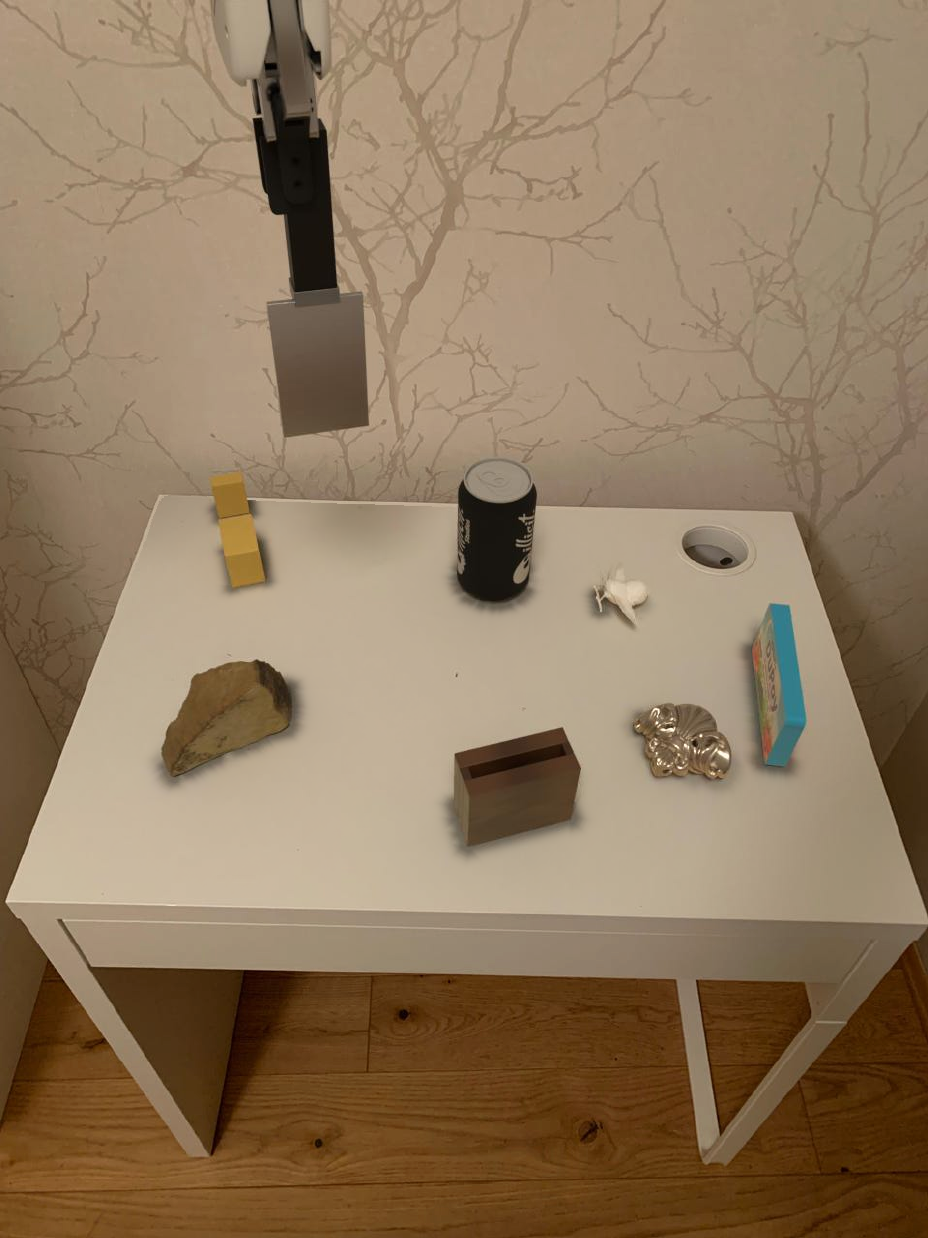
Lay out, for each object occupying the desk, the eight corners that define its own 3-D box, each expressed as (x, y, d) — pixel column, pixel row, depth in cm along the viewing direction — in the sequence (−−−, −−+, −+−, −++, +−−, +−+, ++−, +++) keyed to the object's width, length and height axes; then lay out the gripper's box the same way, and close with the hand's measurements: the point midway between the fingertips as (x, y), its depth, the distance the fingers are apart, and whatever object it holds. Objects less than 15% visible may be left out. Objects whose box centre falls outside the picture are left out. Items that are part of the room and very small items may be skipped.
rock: (144, 797, 65) (281, 775, 65) (116, 683, 64) (256, 660, 64) (187, 746, 76) (305, 727, 76) (164, 647, 74) (284, 628, 74)
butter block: (232, 588, 83) (224, 556, 80) (225, 551, 86) (218, 519, 83) (265, 581, 83) (259, 549, 80) (257, 545, 86) (251, 513, 83)
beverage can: (500, 617, 81) (507, 515, 72) (442, 584, 83) (442, 482, 74) (542, 575, 84) (553, 473, 75) (485, 545, 87) (489, 442, 78)
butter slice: (219, 518, 89) (211, 486, 86) (217, 508, 90) (209, 476, 87) (250, 513, 89) (243, 481, 86) (248, 503, 90) (241, 471, 87)
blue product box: (783, 769, 71) (807, 722, 66) (764, 767, 71) (786, 720, 66) (769, 651, 79) (789, 602, 74) (751, 649, 79) (770, 600, 74)
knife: (286, 444, 63) (246, 135, 48) (281, 427, 64) (241, 121, 49) (371, 432, 64) (358, 128, 49) (365, 416, 65) (350, 114, 51)
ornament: (608, 754, 71) (615, 727, 69) (655, 700, 75) (663, 673, 72) (698, 813, 68) (708, 787, 65) (742, 754, 71) (754, 727, 69)
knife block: (467, 847, 66) (469, 796, 61) (453, 805, 68) (454, 752, 63) (570, 820, 67) (581, 768, 62) (554, 779, 70) (562, 726, 64)
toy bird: (660, 631, 79) (649, 597, 76) (608, 646, 80) (595, 612, 77) (642, 566, 84) (632, 531, 81) (594, 580, 85) (581, 546, 82)
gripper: (139, -260, 43) (213, 152, 56) (165, -214, 33) (247, 275, 46) (298, -261, 44) (333, 141, 58) (371, -217, 34) (391, 257, 48)
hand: (294, 198), depth 52 cm, fingers closed on knife, 1 cm apart
